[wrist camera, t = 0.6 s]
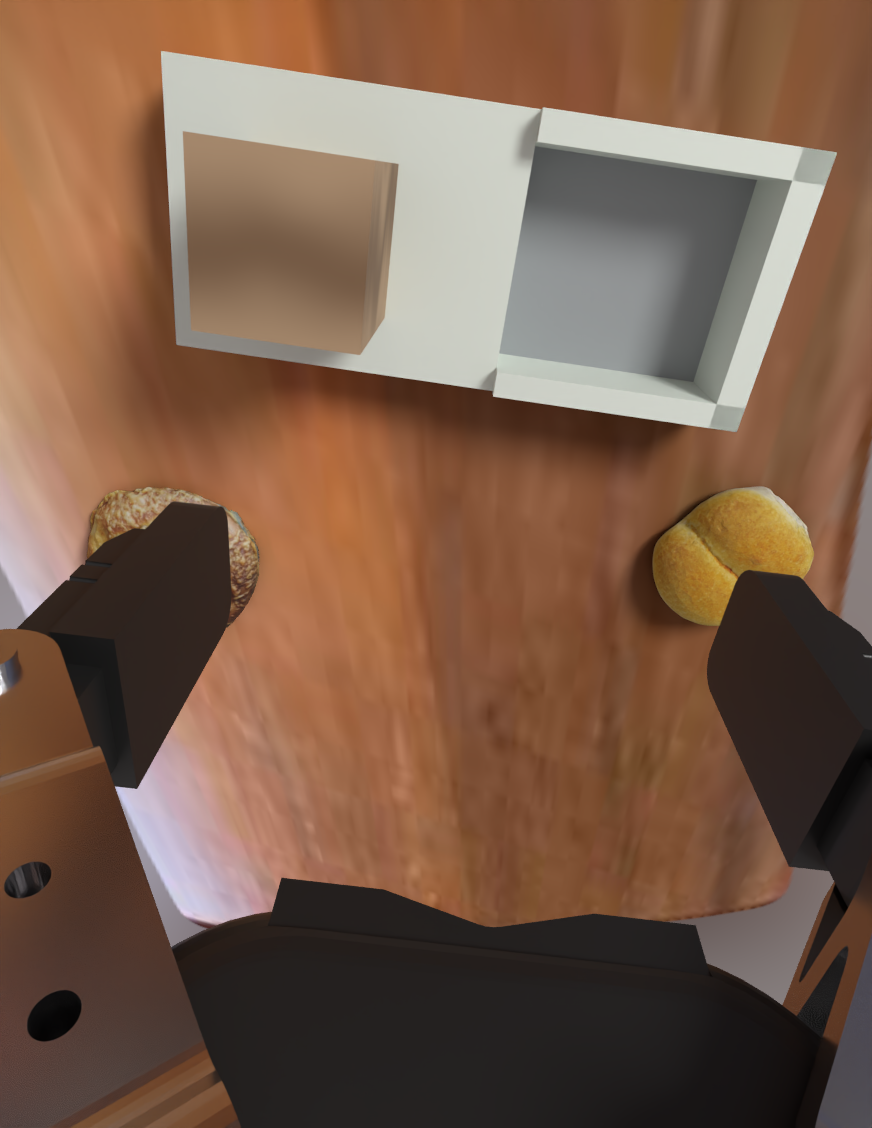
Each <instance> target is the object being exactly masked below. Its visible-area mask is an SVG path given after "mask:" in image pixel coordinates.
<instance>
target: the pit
mask: <svg viewBox="0 0 872 1128" xmlns="http://www.w3.org/2000/svg"><path fill="white" fill-rule="evenodd" d="M836 154H837V152H830V151H824V150H817V149H811V148H804V147H798V146H791V145H785V144H778V143H772V142H765V141H759V140H752V139H746V138H739V137H733V136H726V135H720V134H713V133H707V132H700V131H694V130H687V129H681V128H674V127H668V126H661V125H655V124H648V123H642V122H635V121H629V120H622V119H616V118H609V117H603V116H596V115H590V114H583V113H576V112H570V111H563V110H557V109H550V108H544V107H543V108H542V109H541V115H540V121H539V126H538V132H537V138H536V144H535V149H534V155H533V161H532V167H531V173H530V178H529V184H528V190H527V196H526V201H525V207H524V213H523V219H522V224H521V230H520V236H519V242H518V247H517V253H516V259H515V265H514V270H513V276H512V282H511V288H510V294H509V299H508V305H507V311H506V317H505V322H504V328H503V334H502V340H501V345H500V351H499V357H498V363H497V368H496V374H495V380H494V386H493V397H500V398H507V399H513V400H520V401H527V402H534V403H541V404H548V405H555V406H561V407H568V408H575V409H582V410H589V411H596V412H603V413H609V414H616V415H623V416H630V417H637V418H644V419H651V420H657V421H664V422H671V423H678V424H685V425H692V426H699V427H705V428H712V429H719V430H726V431H733V432H737V429H738V427H739V424H740V421H741V418H742V416H743V413H744V410H745V407H746V404H747V402H748V399H749V396H750V393H751V390H752V388H753V385H754V382H755V379H756V377H757V374H758V371H759V368H760V365H761V363H762V360H763V357H764V354H765V352H766V349H767V346H768V343H769V340H770V338H771V335H772V332H773V329H774V327H775V324H776V321H777V318H778V315H779V313H780V310H781V307H782V304H783V302H784V299H785V296H786V293H787V290H788V288H789V285H790V282H791V279H792V277H793V274H794V271H795V268H796V265H797V263H798V260H799V257H800V254H801V252H802V249H803V246H804V243H805V240H806V238H807V235H808V232H809V229H810V226H811V224H812V221H813V218H814V215H815V213H816V210H817V207H818V204H819V201H820V199H821V196H822V193H823V190H824V188H825V185H826V182H827V179H828V176H829V174H830V171H831V168H832V165H833V163H834V160H835V157H836Z"/></svg>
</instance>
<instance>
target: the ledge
mask: <svg viewBox="0 0 872 1128" xmlns="http://www.w3.org/2000/svg"><path fill="white" fill-rule="evenodd" d="M161 61H162V81H163V100H164V119H165V138H166V157H167V176H168V195H169V214H170V234H171V253H172V272H173V291H174V310H175V329H176V345H181V346H188V347H194V348H201V349H208V350H215V351H222V352H229V353H236V354H242V355H249V356H256V357H263V358H270V359H277V360H283V361H290V362H297V363H304V364H311V365H318V366H325V367H331V368H338V369H345V370H352V371H359V372H366V373H373V374H379V375H386V376H393V377H400V378H407V379H414V380H421V381H427V382H434V383H441V384H448V385H455V386H462V387H468V388H475V389H482V390H489V391H493V386H494V380H495V374H496V368H497V363H498V357H499V351H500V345H501V340H502V334H503V328H504V322H505V317H506V311H507V305H508V299H509V294H510V288H511V282H512V276H513V270H514V265H515V259H516V253H517V247H518V242H519V236H520V230H521V224H522V219H523V213H524V207H525V201H526V196H527V190H528V184H529V178H530V173H531V167H532V161H533V155H534V149H535V144H536V138H537V132H538V126H539V121H540V115H541V109H535V108H529V107H522V106H516V105H509V104H503V103H496V102H490V101H483V100H477V99H470V98H464V97H457V96H451V95H444V94H438V93H431V92H425V91H418V90H412V89H405V88H399V87H392V86H386V85H379V84H373V83H366V82H360V81H353V80H347V79H340V78H334V77H327V76H321V75H314V74H308V73H301V72H295V71H288V70H282V69H275V68H269V67H262V66H256V65H249V64H243V63H236V62H230V61H223V60H217V59H210V58H204V57H197V56H191V55H184V54H178V53H171V52H164V51H161ZM183 131H185V132H192V133H198V134H205V135H211V136H218V137H225V138H231V139H238V140H244V141H251V142H258V143H264V144H271V145H277V146H284V147H291V148H297V149H304V150H310V151H317V152H323V153H330V154H337V155H343V156H350V157H356V158H363V159H370V160H376V161H383V162H389V163H396V164H399V166H398V177H397V188H396V199H395V210H394V221H393V232H392V243H391V254H390V265H389V276H388V287H387V298H386V309H385V318H384V320H383V321H382V323H381V324H380V326H379V327H378V329H377V330H376V332H375V333H374V335H373V336H372V338H371V340H370V341H369V343H368V344H367V346H366V347H365V349H364V350H363V352H362V353H361V355H356V354H349V353H342V352H335V351H328V350H321V349H315V348H308V347H301V346H294V345H287V344H280V343H274V342H267V341H260V340H253V339H246V338H239V337H233V336H226V335H219V334H212V333H205V332H198V331H192V330H191V318H190V294H189V270H188V246H187V222H186V198H185V174H184V150H183Z"/></svg>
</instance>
